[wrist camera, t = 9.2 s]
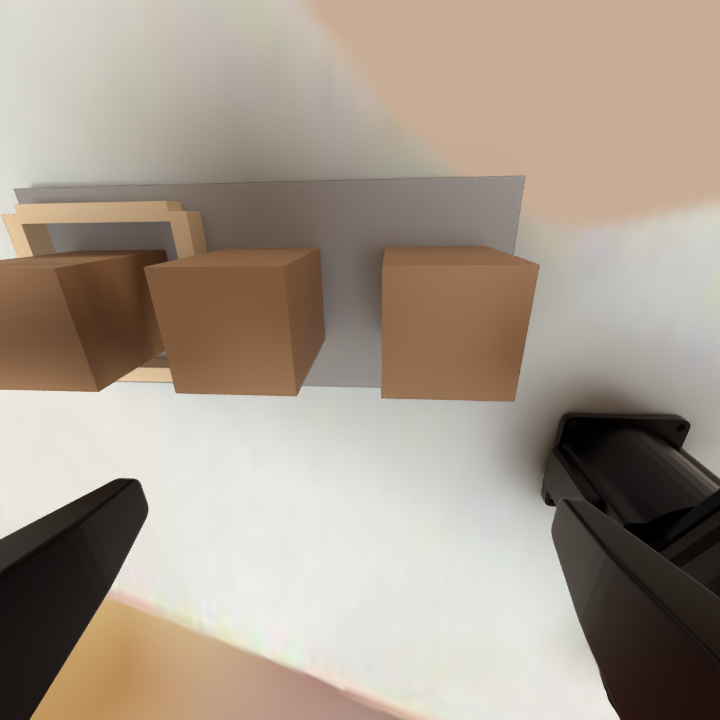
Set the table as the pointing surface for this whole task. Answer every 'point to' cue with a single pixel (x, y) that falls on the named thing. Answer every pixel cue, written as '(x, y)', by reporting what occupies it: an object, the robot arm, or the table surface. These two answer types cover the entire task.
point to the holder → (314, 280)
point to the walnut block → (76, 319)
